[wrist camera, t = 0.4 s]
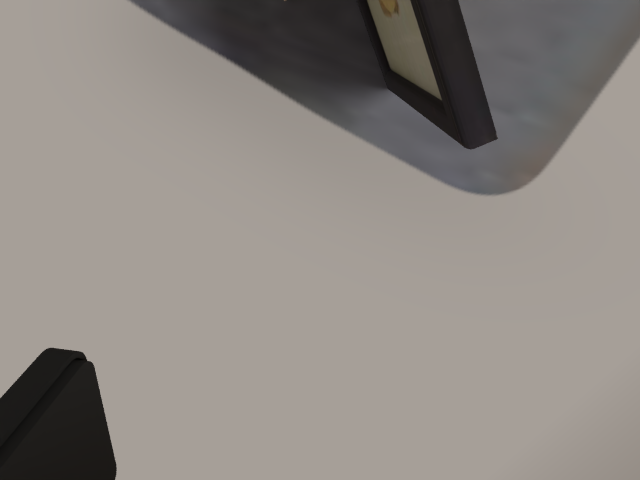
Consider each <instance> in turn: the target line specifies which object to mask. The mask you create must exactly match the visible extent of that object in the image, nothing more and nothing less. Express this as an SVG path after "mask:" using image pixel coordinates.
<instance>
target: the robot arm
mask: <svg viewBox="0 0 640 480" xmlns="http://www.w3.org/2000/svg"><path fill="white" fill-rule="evenodd" d="M115 477H116V462H115V458H114V453H113V449H112V444H111V440H110V435H109V431H108V426H107V422H106V417H105V413H104V408H103V404H102V399H101V395H100V390H99V386H98V381H97V377H96V372H95V368H94V365H93V363H92V362H90V361H87V359H86V357H85V355H84V354H83V353H82V352H79V351H72V350H64V349H56V348H48V349H46V350H45V351H43V352H42V353H41V354H40V355H39V356H38V357H37V358H36V360H35V361H34V362H33V363H32V364H31V365H30V366H29V367H28V368H27V370H26V371H25V372H24V373H23V374H22V375H21V376H20V377H19V379H17V381H16V382H15V383H14V384H13V385H12V386H11V387H10V388H9V389H8V391H7V392H6V393H5V394H4V395H3V396H2V397H1V398H0V480H115Z"/></svg>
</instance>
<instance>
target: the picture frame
mask: <svg viewBox="0 0 640 480" xmlns="http://www.w3.org/2000/svg"><path fill="white" fill-rule="evenodd" d="M357 2H358V5H359V8H360V11H361V13H362V16H363V19H364V22H365V25H366V28H367V30H368V33H369V36H370V39H371V42H372V45H373V47H374V50H375V53H376V56H377V59H378V61H379V64H380V67H381V70H382V73H383V76H384V78H385V81H386V84H387V87H388V89H389V90H390V91H392V92H393V93H394V94H396V95H397V96H398V97H400V98H401V99H402V100H403V101H405V102H406V103H407V104H409V105H410V106H411V107H413V108H414V109H415V110H417V111H418V112H419V113H420V114H422V115H423V116H424V117H426V118H427V119H428V120H430V121H431V122H432V123H434V124H435V125H436V126H437V127H439V128H440V129H441V130H443V131H444V132H445V133H447V134H448V135H449V136H451V137H452V138H453V139H454V140H456V141H457V142H458V143H460V144H461V145H462V146H464V147H465V148H467V149H475V148H477V147H479V146H482V145H484V144H487V143H489V142H491V141H494V140H496V139H498V137H497V134H496V130H495V127H494V123H493V120H492V116H491V113H490V109H489V106H488V102H487V99H486V95H485V92H484V89H483V85H482V82H481V78H480V75H479V71H478V68H477V64H476V61H475V57H474V54H473V50H472V47H471V43H470V40H469V36H468V33H467V29H466V26H465V22H464V19H463V16H462V12H461V9H460V5H459V2H458V0H357Z"/></svg>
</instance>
